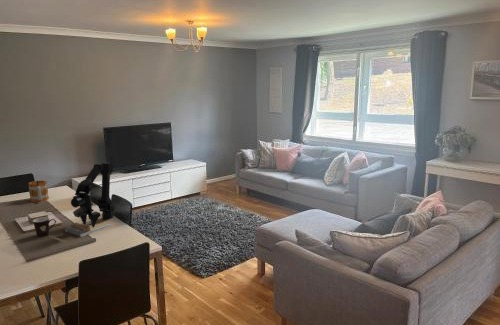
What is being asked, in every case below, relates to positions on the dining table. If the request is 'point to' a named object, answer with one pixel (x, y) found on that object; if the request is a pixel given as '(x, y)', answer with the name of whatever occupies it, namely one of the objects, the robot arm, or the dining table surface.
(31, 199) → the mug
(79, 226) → the walnut slider
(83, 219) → the robot arm
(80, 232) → the rail plate
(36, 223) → the coffee mug
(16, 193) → the dining table surface
